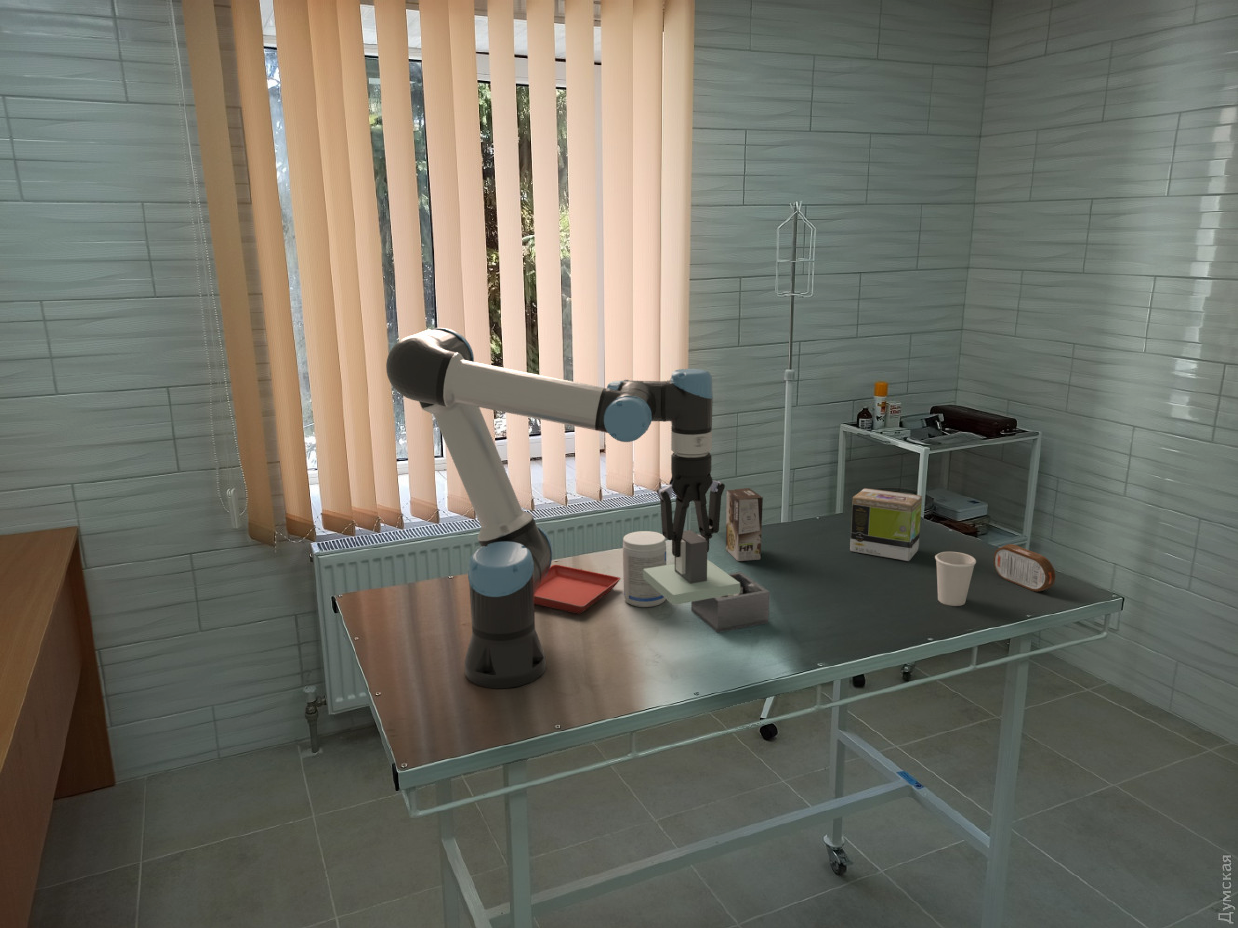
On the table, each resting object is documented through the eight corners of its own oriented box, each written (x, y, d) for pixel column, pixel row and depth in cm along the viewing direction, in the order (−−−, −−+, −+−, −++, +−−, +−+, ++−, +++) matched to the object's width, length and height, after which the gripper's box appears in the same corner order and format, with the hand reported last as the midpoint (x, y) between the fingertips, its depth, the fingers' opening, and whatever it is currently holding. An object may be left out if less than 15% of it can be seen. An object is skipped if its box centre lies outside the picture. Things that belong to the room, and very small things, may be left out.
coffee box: (761, 559, 222) (763, 497, 217) (737, 562, 220) (739, 499, 216) (748, 547, 230) (750, 487, 226) (724, 549, 229) (726, 489, 224)
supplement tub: (675, 602, 197) (675, 539, 193) (639, 612, 192) (639, 548, 188) (649, 587, 205) (649, 527, 201) (615, 597, 200) (614, 535, 196)
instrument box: (717, 632, 182) (718, 601, 180) (691, 610, 193) (691, 579, 191) (768, 622, 187) (769, 591, 185) (739, 601, 197) (740, 571, 195)
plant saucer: (621, 590, 205) (621, 576, 204) (583, 620, 190) (582, 605, 189) (554, 576, 213) (554, 563, 212) (512, 604, 198) (511, 590, 197)
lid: (673, 605, 164) (673, 554, 162) (643, 578, 177) (642, 530, 174) (740, 592, 169) (741, 543, 167) (705, 567, 182) (706, 521, 179)
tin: (1054, 594, 199) (1058, 559, 197) (1044, 597, 198) (1048, 562, 196) (998, 572, 212) (1002, 539, 210) (989, 574, 211) (992, 541, 209)
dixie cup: (928, 604, 195) (932, 561, 192) (934, 590, 202) (938, 549, 200) (969, 611, 191) (973, 567, 189) (974, 597, 198) (978, 554, 196)
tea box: (919, 550, 227) (923, 494, 223) (908, 562, 219) (913, 505, 215) (860, 540, 235) (864, 486, 231) (848, 551, 226) (851, 496, 222)
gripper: (659, 462, 160) (659, 583, 166) (740, 452, 166) (737, 570, 172) (642, 452, 167) (643, 569, 173) (721, 443, 173) (719, 557, 179)
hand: (690, 569), depth 172 cm, fingers closed on lid, 3 cm apart
